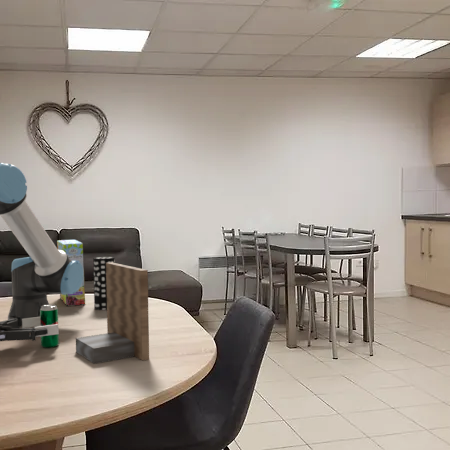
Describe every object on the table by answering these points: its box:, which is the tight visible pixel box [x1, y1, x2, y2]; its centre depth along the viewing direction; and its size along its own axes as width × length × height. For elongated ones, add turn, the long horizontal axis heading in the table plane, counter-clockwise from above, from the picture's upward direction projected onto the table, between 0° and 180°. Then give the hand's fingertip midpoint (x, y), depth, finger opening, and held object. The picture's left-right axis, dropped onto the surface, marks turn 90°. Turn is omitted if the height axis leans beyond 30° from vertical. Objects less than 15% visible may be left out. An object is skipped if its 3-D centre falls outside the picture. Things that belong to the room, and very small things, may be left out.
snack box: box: [56, 239, 86, 306], centre depth 241 cm, size 22×9×26 cm, turn 23°
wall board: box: [75, 262, 150, 364], centre depth 157 cm, size 24×14×24 cm, turn 34°
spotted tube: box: [92, 256, 116, 311], centre depth 225 cm, size 8×8×20 cm
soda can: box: [40, 304, 60, 349], centre depth 167 cm, size 5×5×12 cm
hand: (51, 324), depth 167 cm, fingers open, 13 cm apart
